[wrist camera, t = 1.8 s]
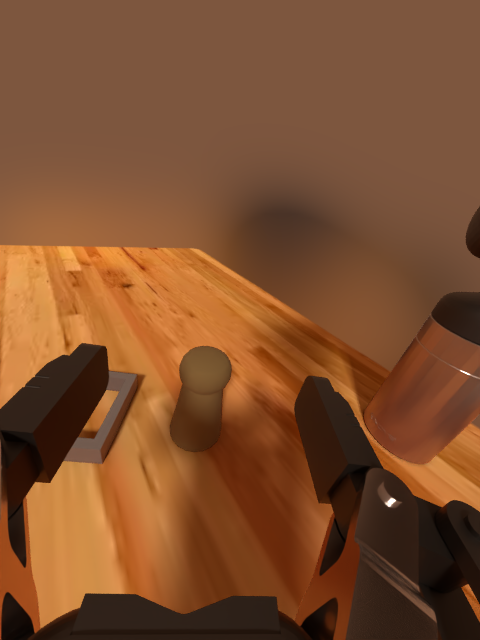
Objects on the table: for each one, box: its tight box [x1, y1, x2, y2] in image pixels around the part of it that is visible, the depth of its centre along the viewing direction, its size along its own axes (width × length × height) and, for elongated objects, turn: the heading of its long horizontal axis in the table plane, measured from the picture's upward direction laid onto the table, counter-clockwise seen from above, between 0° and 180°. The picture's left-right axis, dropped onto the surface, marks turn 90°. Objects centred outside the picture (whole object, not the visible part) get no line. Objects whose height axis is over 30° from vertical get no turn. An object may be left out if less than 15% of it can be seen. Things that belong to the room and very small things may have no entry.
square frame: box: [64, 371, 137, 464], centre depth 26 cm, size 10×10×2 cm
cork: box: [170, 346, 232, 452], centre depth 26 cm, size 6×6×11 cm
